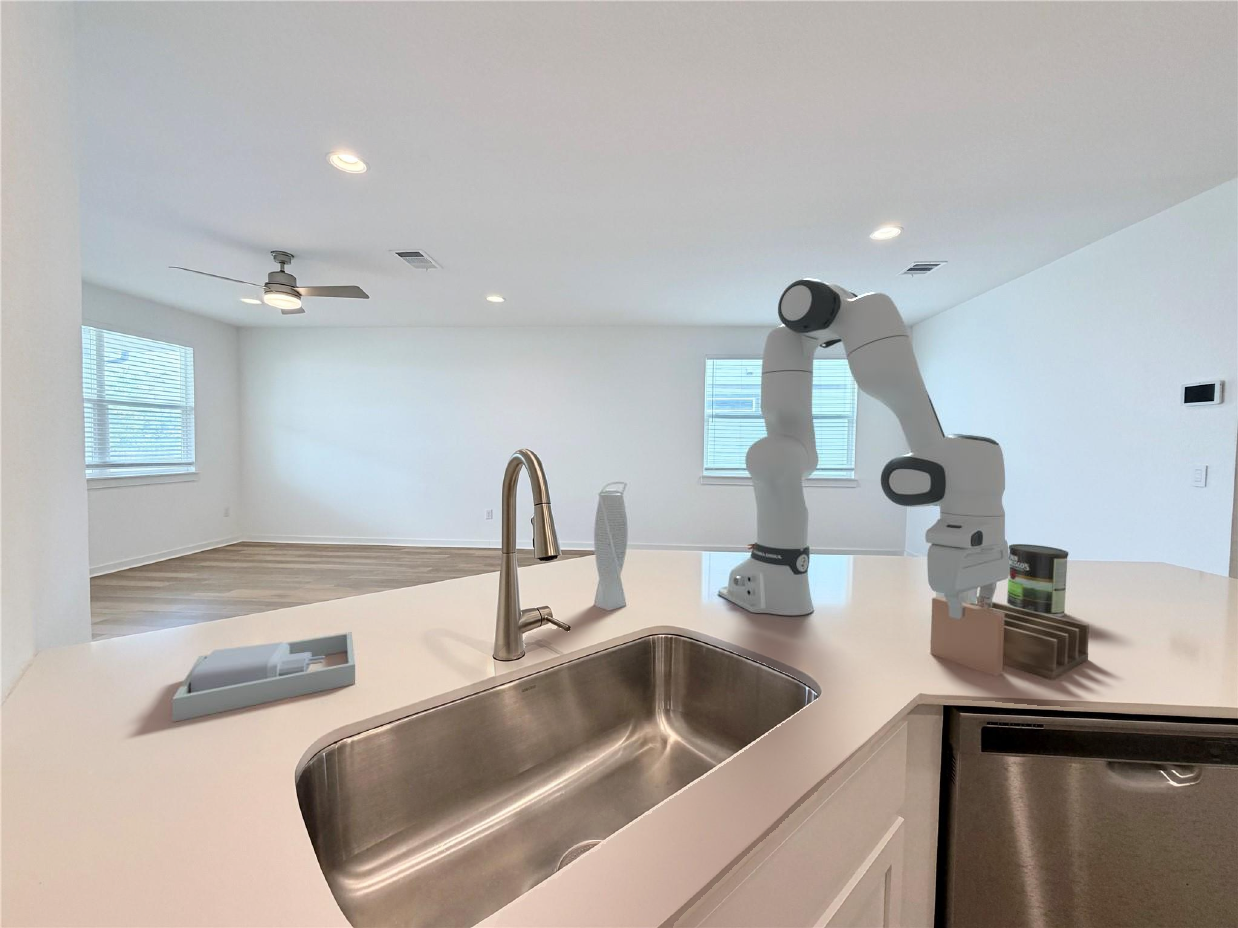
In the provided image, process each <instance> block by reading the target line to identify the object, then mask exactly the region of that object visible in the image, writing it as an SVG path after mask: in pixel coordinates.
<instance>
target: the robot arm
mask: <svg viewBox="0 0 1238 928" xmlns="http://www.w3.org/2000/svg"><path fill="white" fill-rule="evenodd" d="M777 314H778V318H779V320H780V322H781V323H782V324H780V325H778V326H776V327H774V328H772V329H771V331H769V333H768V335H767V336H766V340H765V346H764V348H763V355H762V362H761V375H760V376H761V378H760V379H761V380H760V383H761V384H760V406H759V407H760V412H761V415H762V417H763V419H764V425H765V430H766V436H763V437H762V438H760V439H758V440H757V441H755V442H753V443H752V444H751V445H750V447H749V448H748V450H747V451H746V455H745V467H746V470H747V472H748V474H749V475H750V477H751V482H752V486H753V492H754V496H755V504H756V515H757V516H756V525H757V526H756V542H754V543H751V544H747V546H748V547H747V550H751V553H750V557H749V558H746V560H744V561H743V562H741V563H739V564H738V565H736V566H735V567H734V568H733V569H731V570H730V573H729V576H728V582H727V583H728V585H726V586H723V587H720V588H719V589H718V592H717V594H718V595H719V596H721V597H723V598H724V599H727V600H729V601H730V602H732V603H734V604H736V605H737V606H739V607H741V608H744V609H745V610H746V611H748V612H751V613H754V614H755V613H756V614H773V615H780V616H802V615H807V614H810V613H813V611H814V610H815V607H814V604H813V600H812V595H811V589H810V588H811V587H810V581H809V572H808V571H809V565H810V546H809V545H808V543H809V540H808V539H809V538H808V537H809V510H808V508H807V506H806V505H807V504H806V501H805V495H804V487H803V481H804V480H807V479H808V478H810V477H811V476H812V475H813V474H814V472H815V470H817V467H818V465H819V453H818V451H817V443H816V432H815V426H814V425H815V424H814V417H813V388H814V386H813V384H814V383H813V382H814V358H815V353H816V351H817V349H818V348H819V347H821V348H823V349H827V348H830V347H831V346H834V345H836V344H839V343H841V342H842V346H843V349H844V351H845V356H846V360H847V363H848V368H849V371H850V374H851V375H852V378H853V379H854V381H855V383H856V385H857V387H858V388H859V390H861V391H862V392H863V393H865V394H866V395H869V396H870V397H872V398H873V399H875V400H876V401H879V402H880V403H882V404H883V405H885V406H886V407H887V408H888V409H889V410H890V411H891V412H892V413H893V414H894V415H895V416H896V418H897V420H898V422H899V423H900V427H901V429H902V432H903V435H904V438H905V441H906V442H907V446H908V447H909V451H910V453H907V454H903V455H900V456H897V457H895V458H893V459H890V460H889V461H888V462H886V464H885V465H884V467H883V469H882V471H881V475H880V485H881V489H882V492H883V493H884V495H885V496H886V497H887V499H888V500H890V501H891V502H892V503H894V504H895V505H899V506H902V507H907V508H919V507H930V506H932V507H933V506H934V507H939V510H940V511H939V515H940V516H939V518H938V519H937V520H936V522H935V523H934V524H932V526H931V527H929V528H928V529H927V530H926V531H925V536H924V537H925V542H926V543H927V544H930V545H929V547H928V549H927V557H926V560H927V562H926V563H927V580H928V585H929V586H930V589H931V590H932V591H933V592H935V593H936V592H940V593H944V596H945V599H946V601H947V603H948V606H949V616H951V617H953V618H957V619H960V618H963V617H964V616H965V607H963V606H962V601H961V598H963V592H966V591H969V590H972V589H975V588H979V593H978V595H977V599H976V604H977V606H979V607H983V608H987V609H988V608H991V607H992V602H993V599H994V596H995V592H996V590H997V583H998V582H1001V581H1005V580H1008V576H1009V572H1010V563H1009V544H1008V541H1007V540H1006V513H1005V509H1004V505H1003V496H1004V492H1005V490H1006V472H1005V471H1006V469H1005V459H1004V455H1003V449H1002V446H1001V444H1000V443H998V442H997V441H996V440H995V439H993V438H990V437H987V436H981V435H975V434H962V433H951V434H948V435H945V432H944V430H943V428H942V424H941V421H940V420H939V417H938V414H937V412H936V409H935V407H934V404H933V402H932V400H931V399H932V398H931V397H930V395H929V393H928V391H927V388H926V385H925V382H924V379H923V377H922V374H921V371H920V368H919V365H918V361H917V358H916V355H915V351H914V348H913V345H912V341H911V338H910V335H909V332H908V330H907V326H906V324H905V322H904V319H903V317H902V315H901V313H900V310H899V309H898V308H897V306H896V304H895V303H894V301H893V299H892V298H891V297H890V296H889V295H887V294H885V293H883V292H869V293H865V294H862V295H859V296H858V295H857V294H856V293H853V292H852V291H849V290H847V289H846V288H844V287H841V286H839V285H837V284H832V283H828V282H824V281H823V280H822V281H821V280H819V279H814V278H804V279H798V280H795V281H794V282H792V283H791V284H789V285H788V286H787V287H786V288H785V290H784V291H783V292H782V294H781V296H780V298H779V300H778V305H777Z"/></svg>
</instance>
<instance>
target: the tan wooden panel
mask: <svg viewBox="0 0 1238 928" xmlns="http://www.w3.org/2000/svg"><path fill="white" fill-rule="evenodd" d="M962 606H963V607H965V616H964V617H963V618H960V619H957V618H953V617H951V616H949V606H948V603H947V601H946V599H945V598H943V597H939V596H937V597H936V596H934V597H932V598H931V622H930V624H931V627H930V649H929V650H930V654H931V655H934V656H936V657H938V658H939V657H940V658H942V659H945V660H949V661H950V662H951V661H952V662H954V663H956V664H960V665H962V666H965V667H969V668H971V669H974V670H976V671H980V672H982V673H985V674H988V675H991V676H994V677H998V676H1000V675H1001V676H1002V674H1003V665H1004V664H1003V641H1004V616H1005V613H1003V612H999V611H995V610H991V609H987V608H983V607H979V606H975V605H971V604H967V603H963V602H962Z"/></svg>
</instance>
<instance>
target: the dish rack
mask: <svg viewBox="0 0 1238 928" xmlns="http://www.w3.org/2000/svg"><path fill="white" fill-rule="evenodd" d="M969 604H971V605H975V606H977V603H976V604H975V603H969ZM988 609H991V610H995V611H999V612H1003V613H1005V616H1004V641H1003V665H1005V666H1008V667H1012V668H1015V669H1018V670H1021V671H1024V672H1026V673H1030V674H1034V675H1036V676H1040V677H1043V678H1045V679H1049V680H1052V681H1053V680H1055V679H1056V678H1059V677H1060V676H1062V675H1064V674H1065V673H1067V672H1069V671H1071V670H1072V669H1074V668H1076V667H1077V666H1079V665H1081V664H1082V663H1085V662H1086V661H1088V659H1089V639H1090V638H1089V634H1090V624H1089V623H1085V622H1079V621H1075V620H1072V619H1066V618H1063V617H1055V616H1051V615H1047V614H1043V613H1038V612H1034V611H1030V610H1026V609H1022V608H1017V607H1013V606H1009V605H1007V604H1004V603H1000V602H996V601H992V607H991V608H988Z"/></svg>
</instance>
